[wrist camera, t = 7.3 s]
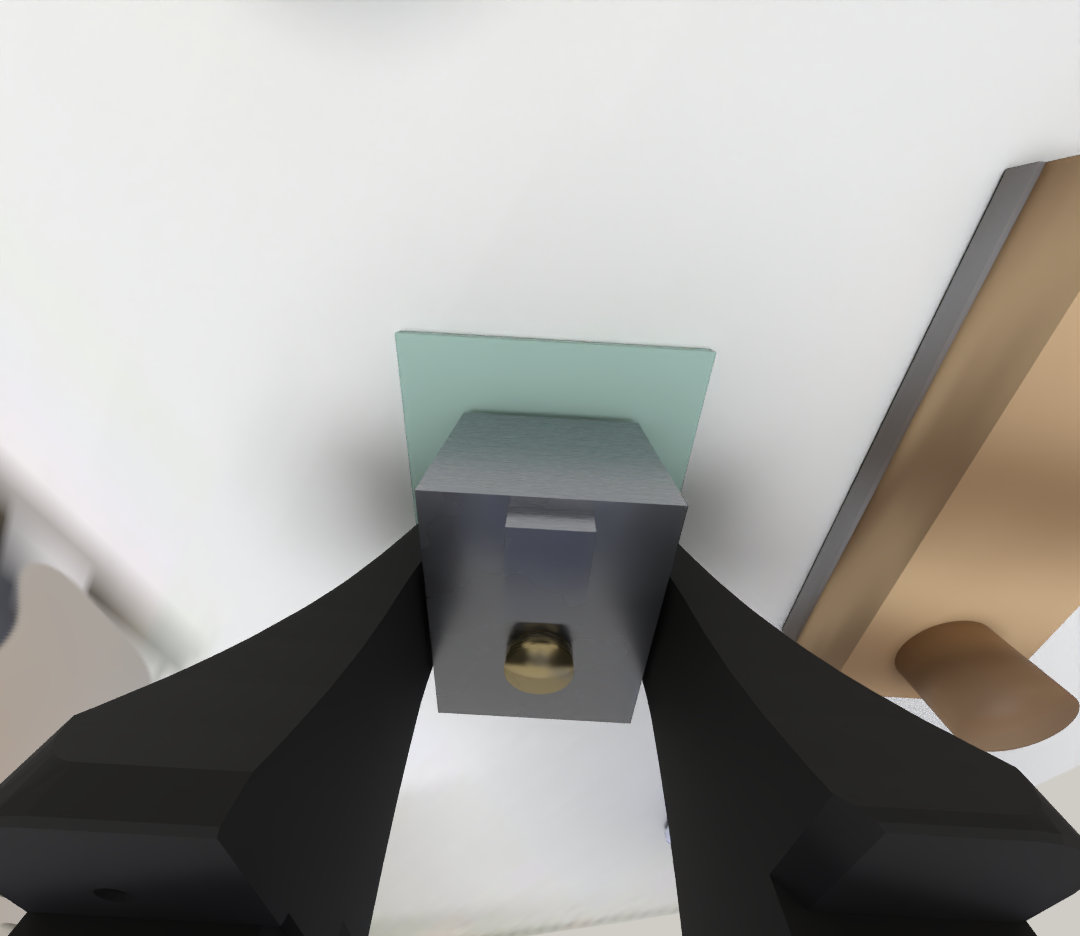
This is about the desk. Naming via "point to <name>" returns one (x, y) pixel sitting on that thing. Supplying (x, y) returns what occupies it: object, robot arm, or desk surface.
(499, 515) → the lever cap
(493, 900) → the desk surface
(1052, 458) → the plane body
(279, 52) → the desk surface
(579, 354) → the mat
